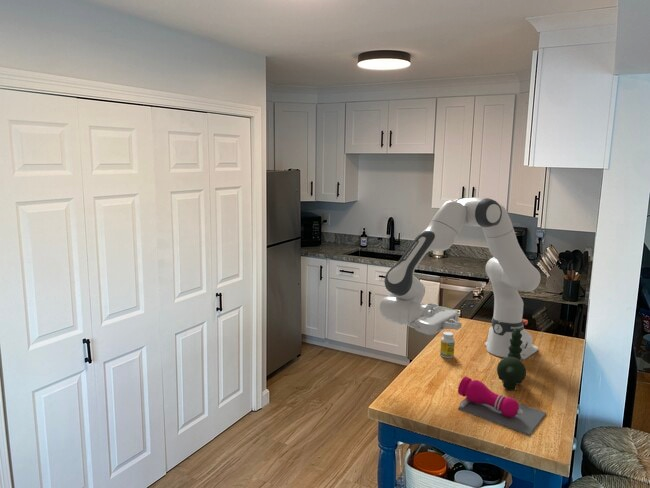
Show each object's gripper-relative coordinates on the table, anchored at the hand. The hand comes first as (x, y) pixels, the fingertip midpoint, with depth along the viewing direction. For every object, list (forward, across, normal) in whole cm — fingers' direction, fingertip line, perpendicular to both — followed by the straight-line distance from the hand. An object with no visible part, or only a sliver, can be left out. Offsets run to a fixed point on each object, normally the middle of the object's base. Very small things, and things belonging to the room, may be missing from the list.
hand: (459, 326), depth 156 cm
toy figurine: (+11, +23, +24) cm, 35 cm away
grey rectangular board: (+16, 0, +24) cm, 29 cm away
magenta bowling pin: (+3, -1, +19) cm, 19 cm away
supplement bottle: (-17, +29, +24) cm, 41 cm away
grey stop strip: (+6, 0, +24) cm, 25 cm away
